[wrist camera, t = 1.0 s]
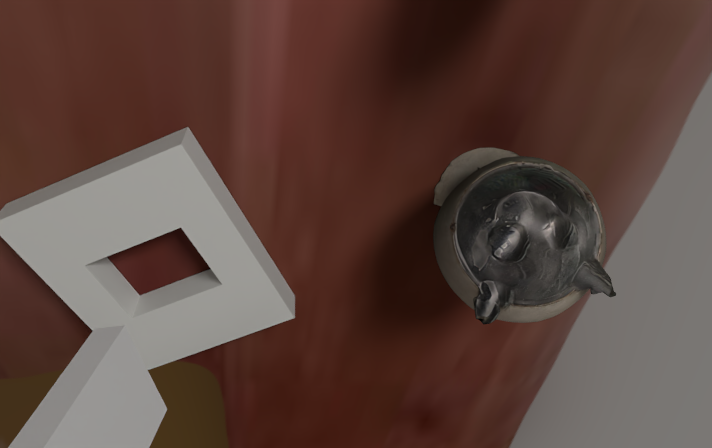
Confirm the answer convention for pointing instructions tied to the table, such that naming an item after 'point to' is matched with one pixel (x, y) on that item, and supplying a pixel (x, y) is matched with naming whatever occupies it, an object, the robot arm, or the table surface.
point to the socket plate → (139, 224)
